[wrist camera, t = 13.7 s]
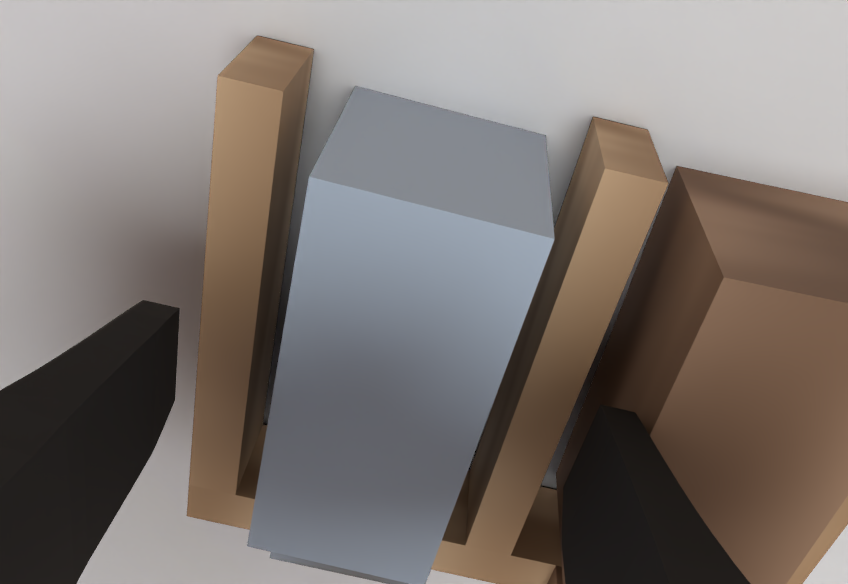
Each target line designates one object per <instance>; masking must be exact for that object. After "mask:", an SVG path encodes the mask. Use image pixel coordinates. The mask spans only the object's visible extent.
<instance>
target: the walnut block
mask: <svg viewBox="0 0 848 584" xmlns="http://www.w3.org/2000/svg"><path fill="white" fill-rule="evenodd" d="M600 404H601V405H606V406H610V407H614V408H619V409H623V410H627V411H632V412H635V413H636V414H637V416H638V417H639V419H640V421H641V422H642V424H643V425H644V427H645V429H646V430H647V432H648V434H649V435H650V437H651V439H652V440H653V442H654V444H655V445H656V447H657V449H658V450H659V452H660V454H661V455H662V457H663V459H664V460H665V462H666V463H667V465H668V467H669V468H670V470H671V472H672V473H673V475H674V476H675V478H676V480H677V481H678V483H679V484H680V486H681V487H682V489H683V491H684V492H685V494H686V495H687V497H688V498H689V500H690V501H691V503H692V504H693V506H694V507H695V509H696V510H697V512H698V513H699V515H700V516H701V518H702V519H703V521H704V522H705V524H706V525H707V526H708V528H709V529H710V531H711V532H712V534H713V535H714V536H715V538H716V539H717V540H718V542H719V543H720V544H721V546H722V547H723V548H724V550H725V551H726V553H727V554H728V555H729V557H730V558H731V559H732V561H733V562H734V563H735V565H736V566H737V567H738V568H739V570H740V571H741V572H742V574H743V575H744V576H745V577H746V579H747V580H748V581H749V582H750V583H751V584H787V582H788V581H789V580H790V578H791V577H792V575H793V574H794V572H795V571H796V569H797V568H798V567H799V565H800V564H801V562H802V561H803V559H804V558H805V557H806V555H807V554H808V552H809V551H810V549H811V548H812V546H813V545H814V544H815V542H816V541H817V539H818V538H819V536H820V535H821V533H822V532H823V531H824V529H825V528H826V526H827V525H828V523H829V522H830V521H831V519H832V518H833V516H834V515H835V513H836V512H837V510H838V509H839V508H840V506H841V505H842V503H843V502H844V500H845V499H846V498H847V496H848V202H844V201H839V200H835V199H830V198H825V197H821V196H816V195H811V194H806V193H802V192H797V191H792V190H788V189H783V188H778V187H774V186H769V185H764V184H759V183H755V182H750V181H745V180H741V179H736V178H731V177H727V176H722V175H717V174H712V173H708V172H703V171H698V170H694V169H689V168H684V167H679V166H677V167H676V169H675V172H674V174H673V177H672V179H671V182H670V184H669V187H668V189H667V192H666V195H665V197H664V200H663V202H662V205H661V207H660V210H659V212H658V215H657V217H656V220H655V223H654V225H653V228H652V230H651V233H650V235H649V238H648V240H647V243H646V245H645V248H644V251H643V253H642V256H641V258H640V261H639V263H638V266H637V268H636V271H635V273H634V276H633V279H632V281H631V284H630V286H629V289H628V291H627V294H626V296H625V299H624V301H623V304H622V307H621V309H620V312H619V314H618V317H617V319H616V322H615V324H614V327H613V329H612V332H611V335H610V337H609V340H608V342H607V345H606V347H605V350H604V352H603V355H602V357H601V360H600V363H599V365H598V368H597V370H596V373H595V375H594V378H593V380H592V383H591V385H590V388H589V391H588V393H587V396H586V398H585V401H584V403H583V406H582V408H581V411H580V413H579V416H578V419H577V421H576V424H575V426H574V429H573V431H572V434H571V436H570V439H569V441H568V444H567V447H566V449H565V452H564V454H563V457H562V459H561V462H560V464H559V467H558V469H557V472H556V483H557V499H558V515H559V531H560V547H561V563H562V579H563V584H565V575H564V564H563V553H562V506H563V487H564V484H565V482H566V480H567V478H568V475H569V473H570V471H571V469H572V467H573V464H574V462H575V460H576V458H577V455H578V453H579V451H580V449H581V446H582V444H583V442H584V440H585V438H586V435H587V433H588V431H589V429H590V426H591V424H592V422H593V420H594V417H595V415H596V413H597V411H598V408H599V406H600Z"/></svg>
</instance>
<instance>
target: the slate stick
mask: <svg viewBox="0 0 848 584" xmlns="http://www.w3.org/2000/svg"><path fill="white" fill-rule="evenodd" d="M554 240H555V237H554V225H553V214H552V202H551V191H550V179H549V168H548V156H547V145H546V135H543V134H539V133H535V132H531V131H527V130H523V129H519V128H516V127H512V126H508V125H504V124H500V123H496V122H492V121H489V120H485V119H481V118H477V117H473V116H469V115H466V114H462V113H458V112H454V111H450V110H446V109H442V108H439V107H435V106H431V105H427V104H423V103H419V102H415V101H412V100H408V99H404V98H400V97H396V96H392V95H388V94H385V93H381V92H377V91H373V90H369V89H365V88H362V87H358V86H355V88H354V90H353V92H352V94H351V96H350V98H349V100H348V102H347V104H346V106H345V107H344V109H343V111H342V113H341V115H340V117H339V119H338V121H337V123H336V125H335V127H334V129H333V131H332V133H331V135H330V137H329V139H328V141H327V143H326V145H325V146H324V148H323V150H322V152H321V154H320V156H319V158H318V160H317V162H316V164H315V166H314V168H313V170H312V172H311V174H310V176H309V180H308V186H307V192H306V198H305V204H304V210H303V216H302V222H301V228H300V234H299V239H298V245H297V251H296V257H295V263H294V269H293V275H292V281H291V287H290V293H289V299H288V305H287V311H286V317H285V323H284V329H283V335H282V341H281V347H280V353H279V359H278V365H277V371H276V377H275V383H274V389H273V395H272V401H271V407H270V413H269V419H268V425H267V431H266V437H265V442H264V448H263V454H262V460H261V466H260V472H259V478H258V484H257V490H256V496H255V502H254V508H253V514H252V520H251V526H250V532H249V538H248V544H247V546H249V547H253V548H257V549H262V550H266V551H270V552H275V553H279V554H283V555H288V556H292V557H296V558H301V559H305V560H309V561H313V562H318V563H322V564H326V565H331V566H335V567H339V568H344V569H348V570H352V571H357V572H361V573H365V574H370V575H374V576H378V577H383V578H387V579H391V580H396V581H400V582H404V583H408V584H426V581H427V578H428V576H429V573H430V570H431V568H432V565H433V562H434V560H435V557H436V554H437V552H438V549H439V546H440V544H441V541H442V538H443V536H444V533H445V530H446V528H447V525H448V522H449V520H450V517H451V514H452V512H453V509H454V506H455V504H456V501H457V498H458V496H459V493H460V490H461V488H462V485H463V482H464V480H465V477H466V474H467V472H468V469H469V466H470V464H471V461H472V458H473V456H474V453H475V450H476V448H477V445H478V442H479V440H480V437H481V434H482V432H483V429H484V426H485V424H486V421H487V418H488V416H489V413H490V410H491V408H492V405H493V402H494V400H495V397H496V394H497V392H498V389H499V386H500V384H501V381H502V378H503V376H504V373H505V370H506V368H507V365H508V362H509V360H510V357H511V354H512V352H513V349H514V346H515V344H516V341H517V338H518V336H519V333H520V330H521V328H522V325H523V322H524V320H525V317H526V314H527V312H528V309H529V306H530V304H531V301H532V298H533V296H534V293H535V290H536V288H537V285H538V282H539V280H540V277H541V274H542V272H543V269H544V266H545V264H546V261H547V258H548V256H549V253H550V250H551V248H552V245H553V242H554Z"/></svg>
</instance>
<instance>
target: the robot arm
mask: <svg viewBox="0 0 848 584" xmlns="http://www.w3.org/2000/svg"><path fill="white" fill-rule="evenodd" d="M179 309H180V308H175V307H171V306H167V305H162V304H158V303H153V302H149V301H145V300H143V301H141V302H139V303H138V304H136V305H135V306H133V307H132V308H130V309H129V310H127V311H126V312H124V313H123V314H121V315H120V316H118V317H117V318H115V319H114V320H112V321H111V322H109V323H108V324H106V325H105V326H104V327H102V328H101V329H99V330H98V331H96V332H95V333H93V334H92V335H90V336H89V337H87V338H86V339H84V340H83V341H81V342H80V343H78V344H77V345H75V346H73V347H72V348H70V349H69V350H67V351H66V352H64V353H62V354H61V355H59V356H58V357H56V358H55V359H53V360H51V361H50V362H48V363H47V364H45V365H43V366H42V367H40V368H39V369H37V370H35V371H34V372H32V373H30V374H28V375H27V376H25V377H23V378H21V379H20V380H18V381H16V382H14V383H12V384H11V385H9V386H7V387H5V388H4V389H2V390H0V584H76V583H77V581H78V580H79V578H80V576H81V574H82V572H83V570H84V568H85V567H86V565H87V563H88V561H89V559H90V558H91V556H92V554H93V553H94V551H95V549H96V548H97V546H98V544H99V542H100V541H101V539H102V537H103V536H104V534H105V532H106V531H107V529H108V527H109V526H110V524H111V522H112V521H113V519H114V517H115V516H116V514H117V512H118V510H119V509H120V507H121V505H122V504H123V502H124V500H125V499H126V497H127V495H128V494H129V492H130V490H131V489H132V487H133V485H134V483H135V482H136V480H137V478H138V477H139V475H140V473H141V471H142V470H143V468H144V466H145V465H146V463H147V461H148V459H149V458H150V456H151V454H152V452H153V450H154V448H155V446H156V443H157V441H158V439H159V437H160V434H161V432H162V430H163V427H164V425H165V423H166V420H167V418H168V415H169V413H170V411H171V408H172V406H173V403H174V401H175V387H176V368H177V348H178V329H179ZM562 553H563V564H564V575H565V584H751V583H750V582H749V581H748V580H747V579H746V577H745V576H744V575H743V574H742V572H741V571H740V570H739V568H738V567H737V566H736V565H735V563H734V562H733V561H732V559H731V558H730V557H729V555H728V554H727V553H726V551H725V550H724V548H723V547H722V546H721V544H720V543H719V542H718V540H717V539H716V538H715V536H714V535H713V534H712V532H711V531H710V529H709V528H708V526H707V525H706V524H705V522H704V521H703V519H702V518H701V516H700V515H699V513H698V512H697V510H696V509H695V507H694V506H693V504H692V503H691V501H690V500H689V498H688V497H687V495H686V494H685V492H684V491H683V489H682V487H681V486H680V484H679V483H678V481H677V480H676V478H675V476H674V475H673V473H672V472H671V470H670V468H669V467H668V465H667V463H666V462H665V460H664V459H663V457H662V455H661V454H660V452H659V450H658V449H657V447H656V445H655V444H654V442H653V440H652V439H651V437H650V435H649V434H648V432H647V430H646V429H645V427H644V425H643V424H642V422H641V421H640V419H639V417H638V416H637V414H636V413H635V412H632V411H627V410H623V409H619V408H614V407H610V406H606V405H601V404H600V406H599V408H598V411H597V413H596V415H595V417H594V420H593V422H592V424H591V426H590V429H589V431H588V433H587V435H586V438H585V440H584V442H583V444H582V446H581V449H580V451H579V453H578V455H577V458H576V460H575V462H574V464H573V467H572V469H571V471H570V473H569V475H568V478H567V480H566V482H565V484H564V487H563V506H562Z"/></svg>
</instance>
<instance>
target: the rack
mask: <svg viewBox="0 0 848 584" xmlns="http://www.w3.org/2000/svg"><path fill="white" fill-rule="evenodd" d="M313 52H314V49H310V48H306V47H302V46H298V45H294V44H289V43H285V42H281V41H277V40H273V39H269V38H265V37H260V36H256V37H255V38H254V39H253V40H252V41H251V42H250V43H249V44H248V45H247V46H246V47H245V48H244V49H243V51H242V52H241V53H240V54H239V55H238V56H237V57H236V58H235V59H234V60H233V61H232V62H231V63H230V64H229V65H228V66H227V67H226V68H225V69H224V70H223V71H222V72H221V73H220V74H219V75H218V79H217V93H216V107H215V121H214V136H213V150H212V164H211V178H210V192H209V207H208V221H207V235H206V249H205V264H204V278H203V292H202V306H201V321H200V335H199V349H198V363H197V378H196V392H195V406H194V420H193V434H192V449H191V463H190V477H189V491H188V506H187V516H189V517H194V518H198V519H203V520H207V521H212V522H216V523H221V524H226V525H230V526H235V527H239V528H244V529H249V530H250V526H251V520H252V514H253V508H254V502H255V496H256V490H257V484H258V478H259V472H260V466H261V460H262V454H263V448H264V442H265V437H266V431H267V425H263V419H264V412H265V404H266V397H267V390H268V382H269V375H270V368H271V360H272V353H273V346H274V338H275V331H276V324H277V316H278V309H279V302H280V294H281V287H282V280H283V272H284V265H285V258H286V250H287V243H288V236H289V228H290V221H291V214H292V206H293V199H294V192H295V184H296V177H297V170H298V162H299V155H300V147H301V140H302V133H303V125H304V118H305V111H306V103H307V96H308V89H309V81H310V74H311V67H312V59H313ZM667 186H668V181H667V178H666V176H665V173H664V171H663V168H662V165H661V163H660V160H659V157H658V155H657V152H656V150H655V147H654V144H653V142H652V139H651V136H650V134H649V131H648V130H646V129H641V128H637V127H633V126H629V125H625V124H621V123H617V122H612V121H608V120H604V119H600V118H596V117H593V119H592V121H591V124H590V127H589V130H588V133H587V136H586V139H585V142H584V144H583V147H582V150H581V153H580V156H579V159H578V162H577V165H576V167H575V170H574V173H573V176H572V179H571V182H570V185H569V188H568V190H567V193H566V196H565V199H564V202H563V205H562V208H561V211H560V213H559V216H558V219H557V222H556V225H555V228H554V237H555V240H554V242H553V245H552V248H551V250H550V253H549V256H548V258H547V261H546V264H545V266H544V269H543V272H542V274H541V277H540V280H539V282H538V285H537V288H536V290H535V293H534V296H533V298H532V301H531V304H530V306H529V309H528V312H527V314H526V317H525V320H524V322H523V325H522V328H521V330H520V333H519V336H518V338H517V341H516V344H515V346H514V349H513V352H512V354H511V357H510V360H509V362H508V365H507V368H506V370H505V373H504V376H503V378H502V381H501V384H500V386H499V389H498V392H497V395H496V397H495V400H494V403H493V406H492V409H491V412H490V415H489V418H488V420H487V423H486V426H485V429H484V432H483V435H482V438H481V441H480V443H479V446H478V449H477V452H476V455H475V458H474V461H473V464H472V466H471V469H470V471H469V470H468V472H467V474H466V477H465V480H464V482H463V485H462V488H461V490H460V493H459V496H458V498H457V501H456V504H455V506H454V509H453V512H452V514H451V517H450V520H449V522H448V525H447V528H446V530H445V533H444V536H443V538H442V541H441V544H440V546H439V549H438V552H437V554H436V557H435V560H434V562H433V565H432V568H431V569H432V570H436V571H441V572H446V573H450V574H455V575H459V576H464V577H468V578H473V579H478V580H482V581H487V582H491V583H496V584H563V579H562V563H561V547H560V531H559V515H558V499H557V490H554V489H549V488H545V487H541V486H540V485H541V483H542V481H543V478H544V476H545V473H546V471H547V469H548V466H549V464H550V462H551V459H552V457H553V455H554V452H555V450H556V448H557V445H558V443H559V440H560V438H561V436H562V433H563V431H564V429H565V426H566V424H567V422H568V419H569V417H570V414H571V412H572V410H573V407H574V405H575V403H576V400H577V398H578V396H579V393H580V391H581V389H582V386H583V384H584V381H585V379H586V377H587V374H588V372H589V370H590V367H591V365H592V363H593V360H594V358H595V355H596V353H597V351H598V348H599V346H600V344H601V341H602V339H603V337H604V334H605V332H606V330H607V327H608V325H609V322H610V320H611V318H612V315H613V313H614V311H615V308H616V306H617V304H618V301H619V299H620V297H621V294H622V292H623V289H624V287H625V285H626V282H627V280H628V278H629V275H630V273H631V271H632V268H633V266H634V263H635V261H636V259H637V256H638V254H639V252H640V249H641V247H642V245H643V242H644V240H645V238H646V235H647V233H648V230H649V228H650V226H651V223H652V221H653V219H654V216H655V214H656V212H657V209H658V207H659V204H660V202H661V200H662V197H663V195H664V193H665V190H666V188H667ZM847 525H848V496H847V498H846V499H845V500H844V502H843V503H842V505H841V506H840V508H839V509H838V510H837V512H836V513H835V515H834V516H833V518H832V519H831V521H830V522H829V523H828V525H827V526H826V528H825V529H824V531H823V532H822V533H821V535H820V536H819V538H818V539H817V541H816V542H815V544H814V545H813V546H812V548H811V549H810V551H809V552H808V554H807V555H806V557H805V558H804V559H803V561H802V562H801V564H800V565H799V567H798V568H797V569H796V571H795V572H794V574H793V575H792V577H791V578H790V580H789V581H788V582H787V584H803V582H804V581H805V580H806V578H807V577H808V576H809V574H810V573H811V572H812V570H813V569H814V568H815V566H816V565H817V564H818V563H819V561H820V560H821V559H822V557H823V556H824V555H825V553H826V552H827V551H828V549H829V548H830V547H831V545H832V544H833V543H834V542H835V540H836V539H837V538H838V536H839V535H840V534H841V532H842V531H843V530H844V528H845V527H846V526H847ZM270 558H272V559H276V560H281V561H285V562H290V563H295V564H299V565H304V566H308V567H313V568H318V569H322V570H327V571H331V572H336V573H341V574H345V575H350V576H355V577H359V578H364V579H368V580H373V581H378V582H382V583H387V584H408V583H404V582H400V581H396V580H391V579H387V578H383V577H378V576H374V575H370V574H365V573H361V572H357V571H352V570H348V569H344V568H339V567H335V566H331V565H326V564H322V563H318V562H313V561H309V560H305V559H301V558H296V557H292V556H288V555H283V554H279V553H275V552H271V554H270Z"/></svg>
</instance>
